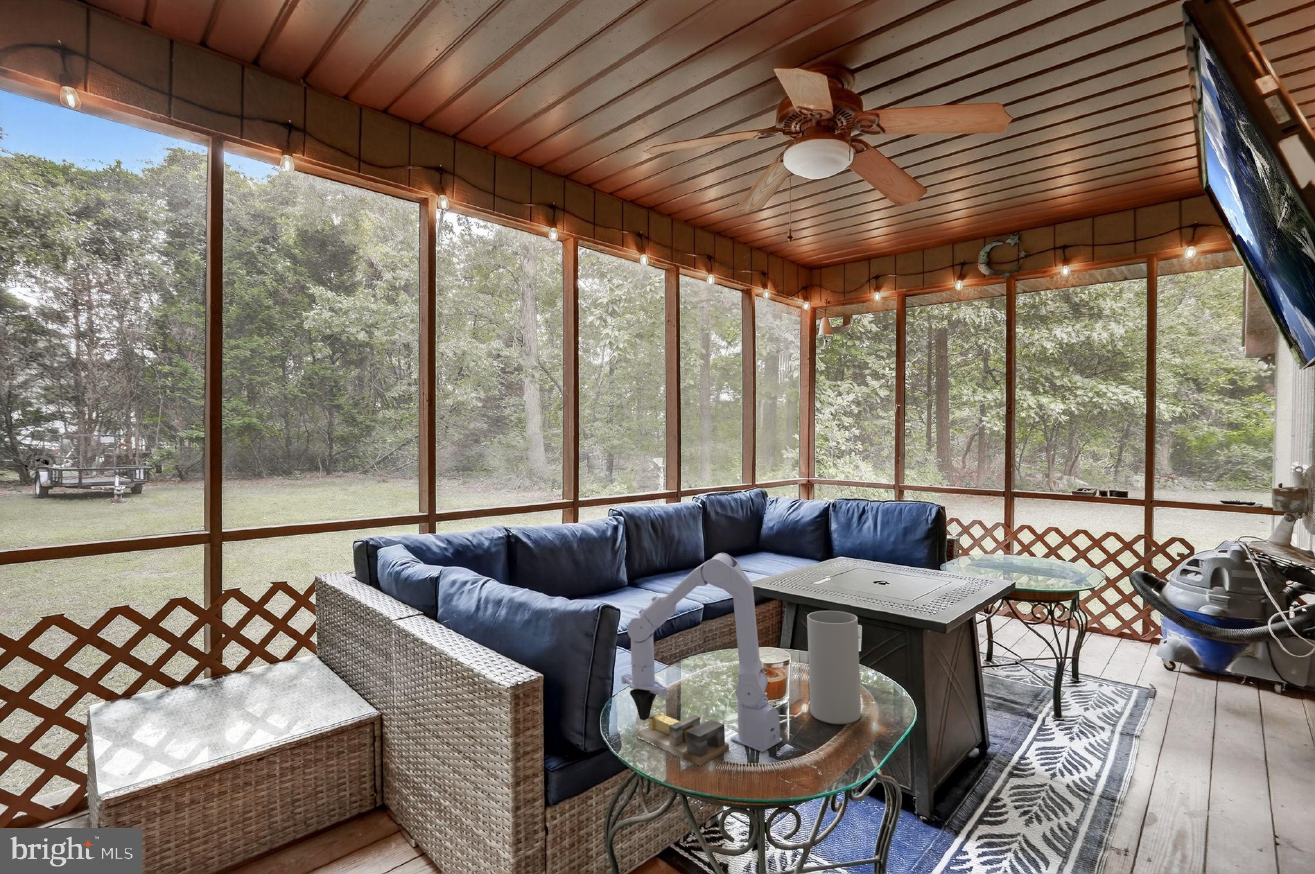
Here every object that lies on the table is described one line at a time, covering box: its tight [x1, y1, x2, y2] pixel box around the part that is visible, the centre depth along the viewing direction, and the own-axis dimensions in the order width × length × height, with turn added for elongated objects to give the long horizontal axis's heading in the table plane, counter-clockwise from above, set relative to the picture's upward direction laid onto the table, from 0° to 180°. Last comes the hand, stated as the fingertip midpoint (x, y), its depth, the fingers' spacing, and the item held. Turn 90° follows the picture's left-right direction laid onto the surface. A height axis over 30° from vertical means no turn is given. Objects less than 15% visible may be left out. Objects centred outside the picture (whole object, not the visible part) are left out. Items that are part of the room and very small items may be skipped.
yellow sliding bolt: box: [648, 712, 694, 742], centre depth 153 cm, size 12×4×2 cm, turn 44°
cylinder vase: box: [806, 610, 862, 725], centre depth 164 cm, size 12×12×25 cm
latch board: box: [637, 714, 730, 767], centre depth 151 cm, size 20×10×6 cm, turn 44°
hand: (644, 718), depth 160 cm, fingers closed
